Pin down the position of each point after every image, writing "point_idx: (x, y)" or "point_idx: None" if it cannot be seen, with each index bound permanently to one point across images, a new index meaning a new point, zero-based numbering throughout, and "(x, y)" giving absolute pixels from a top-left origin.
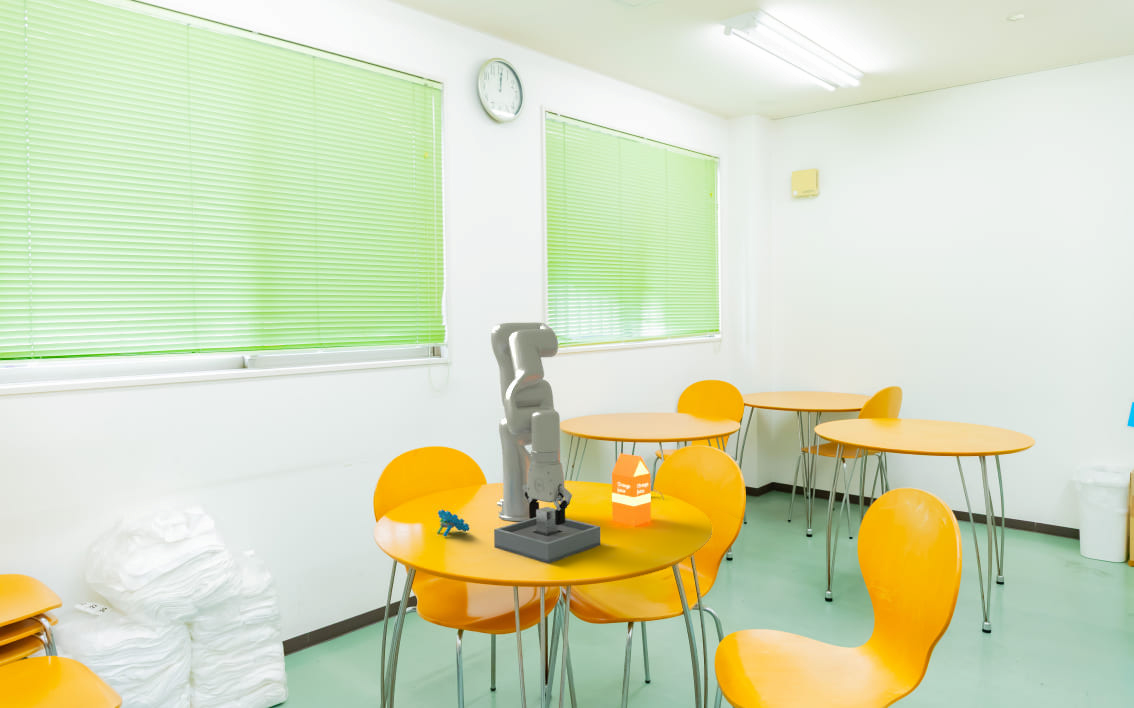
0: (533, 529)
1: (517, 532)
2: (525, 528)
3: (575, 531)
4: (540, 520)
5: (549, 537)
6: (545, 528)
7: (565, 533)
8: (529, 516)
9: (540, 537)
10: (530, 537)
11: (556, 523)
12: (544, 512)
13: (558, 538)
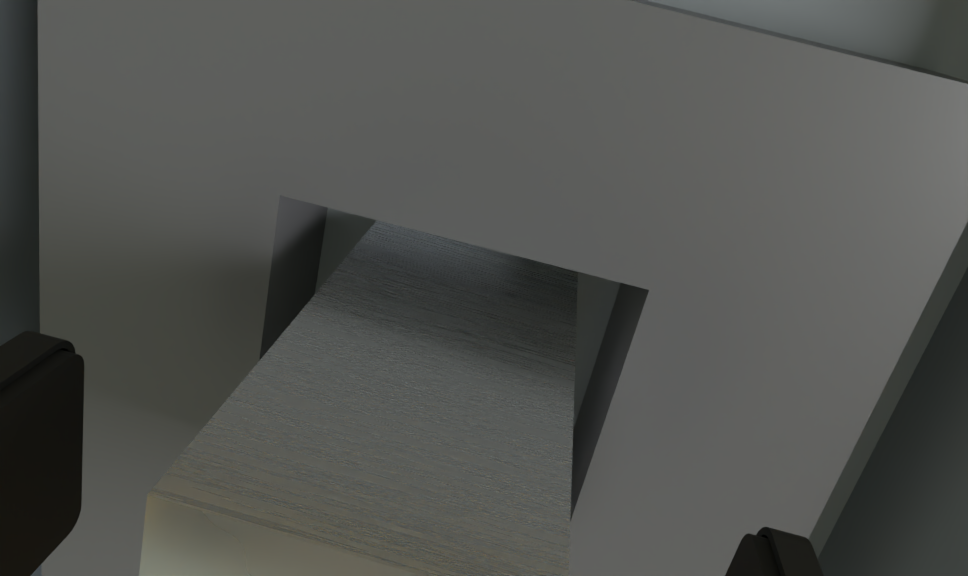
0: (690, 422)
1: (887, 175)
2: (847, 423)
3: (105, 537)
4: (447, 417)
5: (217, 156)
6: (340, 312)
7: (155, 423)
8: (809, 554)
9: (341, 88)
10: (500, 8)
11: (19, 338)
12: (243, 506)
13: (70, 171)
